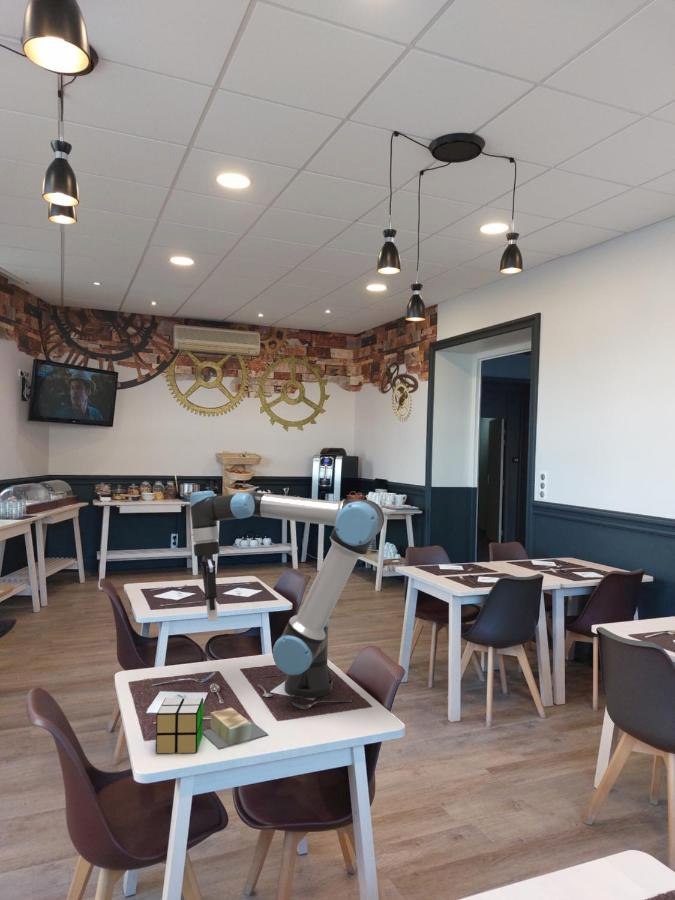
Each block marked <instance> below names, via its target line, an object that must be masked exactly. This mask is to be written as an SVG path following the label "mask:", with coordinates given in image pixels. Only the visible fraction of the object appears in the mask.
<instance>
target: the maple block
mask: <svg viewBox="0 0 675 900" xmlns="http://www.w3.org/2000/svg"><path fill="white" fill-rule="evenodd" d="M210 729H213V730H214V731H215V732H216V733H217V734H218V735H219V736H220V737H221V738H223V739H224V740H225V741H226V742H227V743H228V744H229V745H232V744H236V743H239V742H243V741H246V740H250V739H251V723H250V722H249V721H248V720H247V718H245V717H244V716H243V715H242V714H241V713H239V712H238V711H236V710H235V709H234V708H233V707H228V708H227V707H226V708H222V709H219V710H215V711H212V712H210ZM250 741H251V740H250ZM243 743H244V742H243Z"/></svg>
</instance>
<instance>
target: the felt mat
mask: <svg viewBox="0 0 675 900" xmlns="http://www.w3.org/2000/svg"><path fill="white" fill-rule="evenodd" d="M246 720H248V721H249V722H250V723H251V739H250V740H246V741H243V742H239V743H236V744H232V745H229V744H228V743H227V742H226V741H225V740H224V739H223V738H221V737H220V736H219V735H218V734H217V733H216V732H215V731H214V730H213V729H212V728H210V729H206V730H203V735H202V736H204V737H205V738H206V739H207V740H208V741H209V742H210V743H212V745H214V746H215V748H217V749H218V750H223V749H225V748H226V749H227V748H230V747H232V746H236V745H237V746H238V745H239V744H243V743H246V742H251V741H252V740H253V741H254V740H257V739H261V738H263V737H268V736H269V734H268V732H266V731H265V730H264V729H263V728H261V727H260V726H258V725H257V724H256V723H255V722H253V721H252V720H251V719H250V718H248V719H247V718H246Z"/></svg>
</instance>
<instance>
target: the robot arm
mask: <svg viewBox="0 0 675 900" xmlns="http://www.w3.org/2000/svg"><path fill="white" fill-rule="evenodd" d="M189 505H190V506H189V509H190V516H191V527H192V528H191V529H192V532H190V536H191V537H192V539H193V540H192V541H193V542H194V544H193V552H194V553H193V554H194V555H193V556H195V557H201V558H202V559H201V562H200V568H201V575H202V582H203V590H204V596H205V597H204V601H205V602H206V612H207V613H206V614H207V622H208V623H211V622H215V621H218V608H217V606H218V605H217V599H216V598H218V597H217V596H218V594H217V579H216V577H217V576H216V568H217V565H216V560H214V558H213V555H217V554H220V543H219V541H218V540H219V529H218V522H219V521H220V522H221V521H226V520H227V521H228V520H236V519H239V520H243V519H245V518H250V517H251V516H252V517H259V518H260V517H261V518H262V517H263V518H271V519H277V520H285V521H286V520H287V521H293V522H302V523H309V524H317V525H323V526H326V525H327V526H332V527H333V529H332V532H331V533H330V536H329V540H330V542H331V546H330V547H329V550H328V552H327V554H326V555H325V558H324V560H323V561H322V564H321V566H320V568H319V570H318V573H317V574H316V575H315V578H314V580H313V583H312V585H311V587H310V588H309V591H308V593H307V595H306V596H305V598H304V601H303V603H302V605H301V607H300V609H299V612H298V613H297V614H294V615H293V616H292V617H290V618H289V620H288V621H287V622H288V623H287V624H286V626H285V627H284V630H283V632H282V634H281V635H280V637H279V638H278V639H277V640H276V641H275V643H274V645H273V648H272V658H273V661H274V663H275V666H276V667H277V668H278V669H279V671H281V672H283V673H284V674H286V678H285V679H284V691H285V692H286V693H287V694H289V695H290V694H291V695H290V696H292V695H294V696H293V697H296V696H297V698H302V699H303V698H304V699H305V698H306V699H311V698H312V699H313V698H319V697H324V696H327V695H329V694H330V693H332V692H333V688H334V687H333V684H334V683H333V679H332V678H333V677H332V675H331V673H330V669H329V665H328V658H329V656H328V654H329V653H328V650H329V649H328V648H329V647H328V646H329V643H328V642H329V619H330V616H331V614H332V613H333V611H334V608H335V606H336V604H337V603H338V600H339V599H340V596H341V594H342V592H343V590H344V588H345V586H346V585H347V582H348V579H349V578H350V576H351V573H352V572H353V570H354V567H355V566H356V564H357V561H358V559H359V558H361V557H365V556H366V555H367V553H368V551H369V549H370V547H371V545H372V543H373V541H374V540H375V537H376V536H377V535H378V534H379V533H380V532H381V530H382V529H383V527H384V523H385V515H384V512H383V509H382V507H381V506H380V505H379V504H378V503H376V502H375V501H372V500H369V499H344V498H343V499H342V500H341V501H334V500H325V499H324V500H323V499H318V498H317V499H315V498H309V497H308V498H307V497H306V498H305V497H298V496H290V495H289V496H288V495H287V496H286V495H280V494H272V493H260V492H258V491H254V490H253V491H252V490H249V491H246V492H245V491H244V492H237V493H231V494H225V495H220V496H219V495H218V496H217V495H215V492H214V491H213V490H204V491H202V490H201V491H195V492H192V493H191V494H190V495H189Z"/></svg>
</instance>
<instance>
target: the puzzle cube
mask: <svg viewBox="0 0 675 900" xmlns="http://www.w3.org/2000/svg"><path fill="white" fill-rule="evenodd" d="M155 716H156V717H155V718H156V719H155V721H156V724H155V733H156V734H155V754H156V753H157V754H156V755H168V754H169V753H175V754H178V753H180V754H197V753H198V751H199V747H200V744H201V741H202V738H203V736H204V735H203V731H204V698H203V697H166V698H164V699H163V701H162V704H161V705H160V707H159V709H158V711H157V712H156V715H155ZM163 753H165V754H163ZM167 753H168V754H167Z"/></svg>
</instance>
